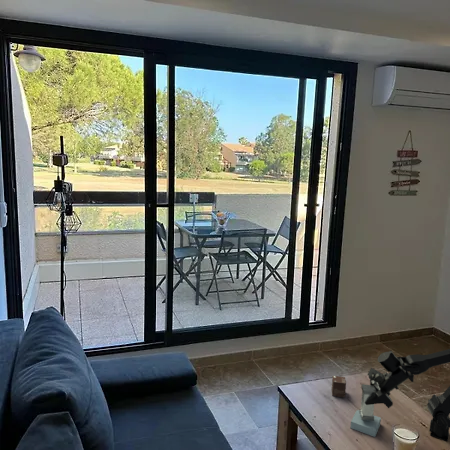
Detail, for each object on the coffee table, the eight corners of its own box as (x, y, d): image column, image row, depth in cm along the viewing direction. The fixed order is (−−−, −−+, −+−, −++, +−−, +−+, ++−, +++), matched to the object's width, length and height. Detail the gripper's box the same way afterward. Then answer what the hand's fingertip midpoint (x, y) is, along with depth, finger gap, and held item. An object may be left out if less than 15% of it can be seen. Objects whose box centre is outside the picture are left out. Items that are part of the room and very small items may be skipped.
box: (345, 398, 193) (346, 383, 192) (332, 396, 194) (333, 381, 193) (344, 391, 199) (345, 377, 198) (331, 389, 200) (332, 375, 199)
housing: (371, 413, 174) (373, 385, 172) (373, 421, 169) (376, 391, 167) (359, 412, 175) (361, 384, 173) (361, 419, 170) (363, 390, 168)
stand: (380, 424, 174) (380, 417, 174) (375, 437, 166) (375, 430, 165) (356, 415, 180) (357, 409, 179) (350, 428, 171) (350, 421, 171)
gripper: (376, 354, 177) (347, 375, 180) (386, 376, 159) (355, 399, 162) (393, 372, 177) (365, 393, 180) (406, 397, 159) (374, 419, 162)
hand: (364, 400), depth 171 cm, fingers closed on housing, 4 cm apart
